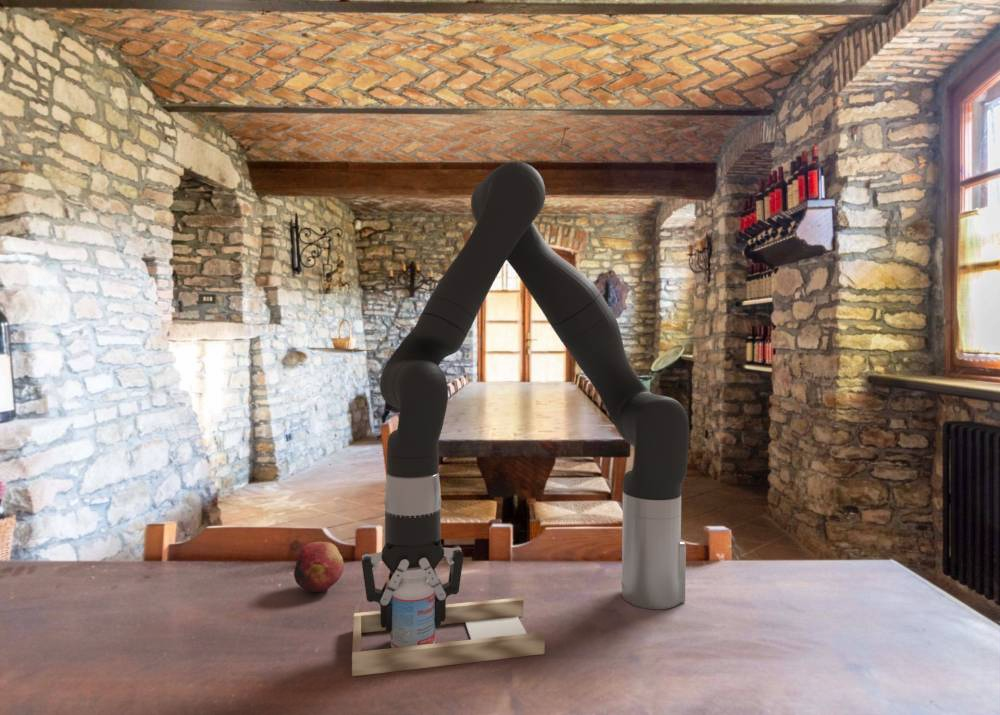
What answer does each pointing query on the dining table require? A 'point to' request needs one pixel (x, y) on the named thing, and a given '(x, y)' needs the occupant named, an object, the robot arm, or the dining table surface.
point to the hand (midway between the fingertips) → (412, 625)
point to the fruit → (318, 566)
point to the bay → (448, 650)
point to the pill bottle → (413, 610)
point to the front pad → (495, 628)
